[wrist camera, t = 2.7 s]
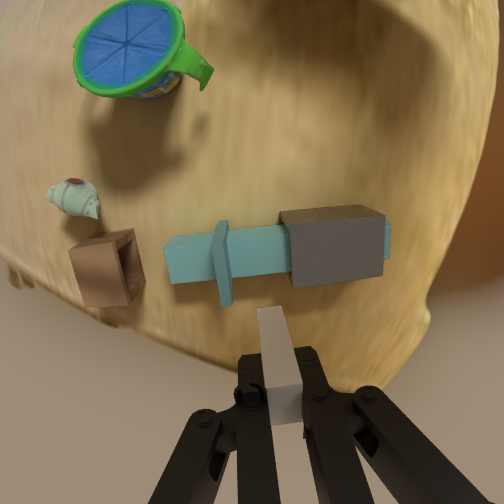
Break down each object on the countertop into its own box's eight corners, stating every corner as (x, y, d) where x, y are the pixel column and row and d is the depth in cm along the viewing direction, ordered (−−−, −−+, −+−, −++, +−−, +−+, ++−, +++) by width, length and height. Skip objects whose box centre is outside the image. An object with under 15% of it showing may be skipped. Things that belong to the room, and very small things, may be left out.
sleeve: (280, 211, 32) (289, 224, 26) (360, 204, 32) (385, 215, 26) (284, 265, 34) (293, 288, 28) (360, 256, 34) (382, 275, 28)
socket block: (93, 234, 31) (68, 250, 25) (133, 228, 31) (111, 243, 25) (107, 284, 34) (85, 307, 28) (145, 281, 34) (128, 305, 28)
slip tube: (172, 227, 31) (149, 251, 23) (372, 206, 31) (410, 223, 23) (181, 275, 33) (164, 311, 25) (371, 253, 33) (405, 281, 25)
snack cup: (236, 62, 26) (234, 22, 16) (185, 136, 28) (160, 126, 19) (132, 20, 23) (100, -16, 13) (86, 88, 25) (39, 71, 16)
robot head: (65, 198, 30) (34, 208, 23) (71, 167, 28) (40, 172, 22) (114, 216, 31) (87, 230, 24) (122, 184, 30) (95, 191, 23)
